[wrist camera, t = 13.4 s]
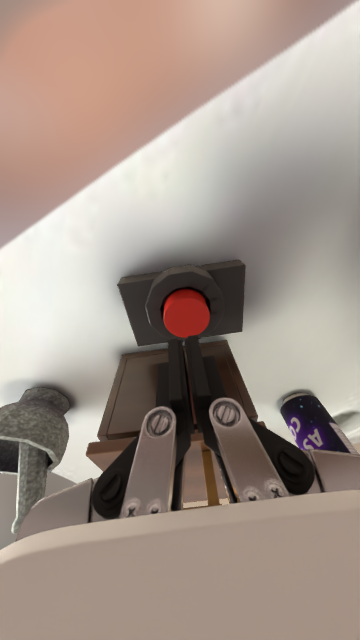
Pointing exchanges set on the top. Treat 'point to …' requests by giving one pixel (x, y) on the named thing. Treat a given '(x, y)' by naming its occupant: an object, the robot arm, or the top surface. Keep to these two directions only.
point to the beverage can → (313, 425)
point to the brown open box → (141, 383)
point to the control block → (209, 280)
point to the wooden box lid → (198, 467)
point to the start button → (186, 313)
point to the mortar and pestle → (32, 443)
